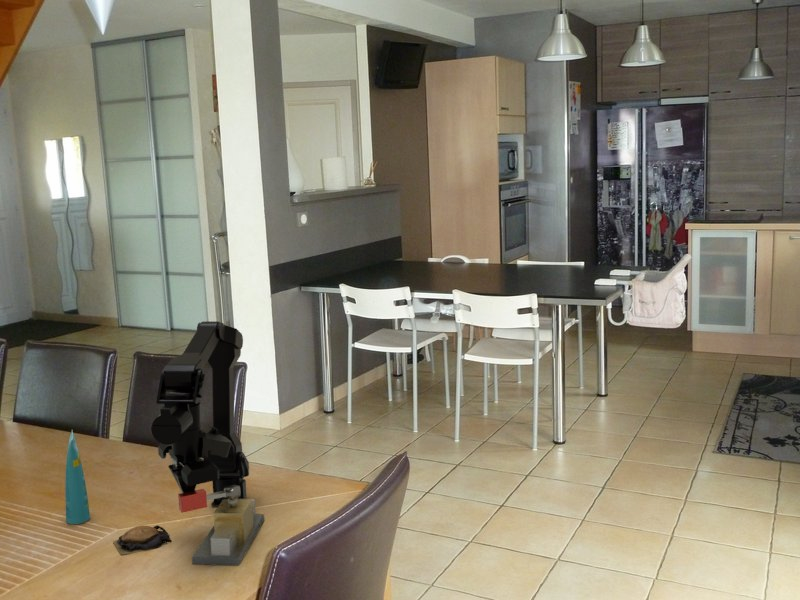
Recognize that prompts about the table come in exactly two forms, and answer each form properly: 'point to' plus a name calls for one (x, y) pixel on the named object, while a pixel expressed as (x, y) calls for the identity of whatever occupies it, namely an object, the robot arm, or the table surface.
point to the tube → (75, 486)
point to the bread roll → (141, 539)
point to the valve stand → (229, 533)
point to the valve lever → (205, 497)
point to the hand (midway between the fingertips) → (189, 501)
